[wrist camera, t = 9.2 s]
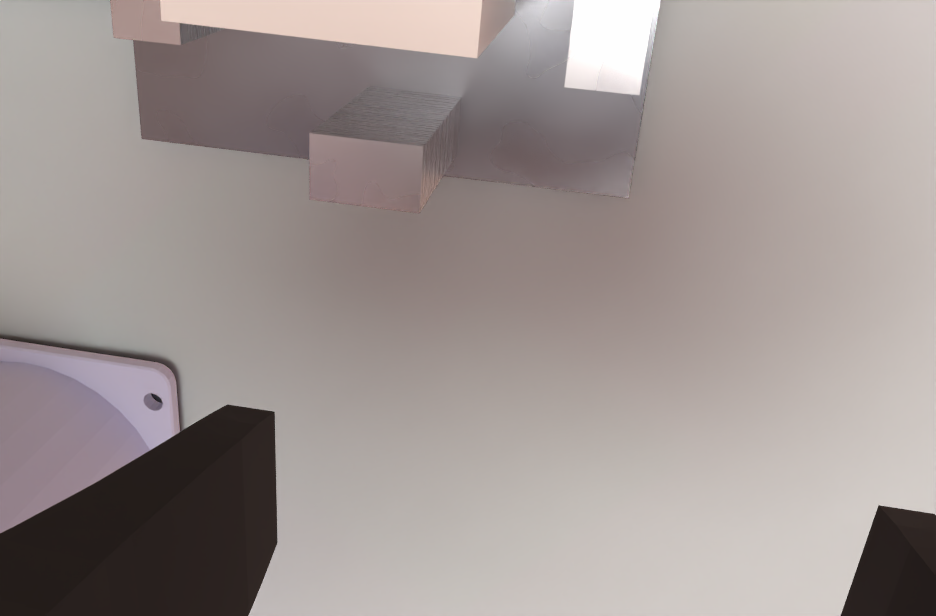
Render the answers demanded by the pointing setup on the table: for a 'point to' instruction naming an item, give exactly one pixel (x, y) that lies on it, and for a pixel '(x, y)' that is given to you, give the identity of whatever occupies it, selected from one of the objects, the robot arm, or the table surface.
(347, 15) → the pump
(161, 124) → the grey peg tray
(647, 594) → the table surface
